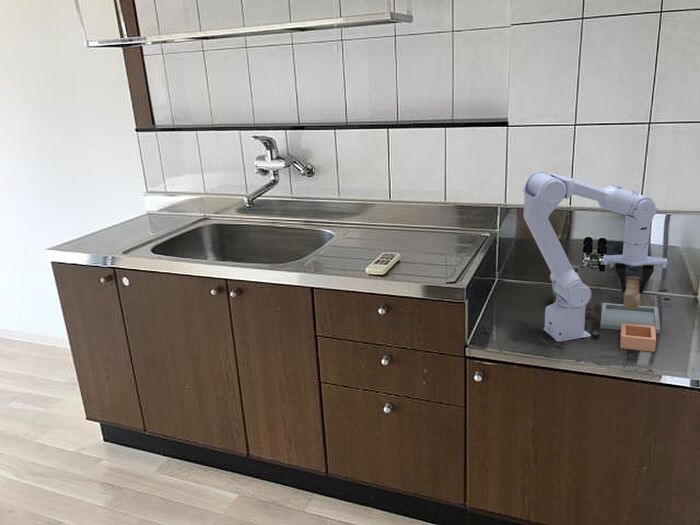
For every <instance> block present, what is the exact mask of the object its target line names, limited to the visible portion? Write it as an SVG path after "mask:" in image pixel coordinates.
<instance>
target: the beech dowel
mask: <svg viewBox="0 0 700 525" xmlns="http://www.w3.org/2000/svg"><path fill="white" fill-rule="evenodd" d="M641 278H642V277H639V276H635V275H631V276H625V292H623V304H624V306H623V307H624V308H625V309H629V310H636V309H638V308H639V306H640V295H641V293H640V285H641Z"/></svg>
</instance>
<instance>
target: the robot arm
mask: <svg viewBox="0 0 700 525" xmlns="http://www.w3.org/2000/svg"><path fill="white" fill-rule="evenodd" d="M622 187H623V186H622V185H619V184H616V183H615V184H614V185H606V186H605V187H602V188H601V187H599V186H596V185H592V184H589V183H586V182H583V181H581V180H578V179H576V178H572V177H568V176H564V175H560V174H556V173H549V174H548V173H546V172H544V171H535V172H533V173H532V174H531V175H530V176H528V178H527V180H526V181H525V184H524V187H523V188H522V190H523V195H524V201H523V202H524V203H523V218H524V219H523V220H524V221H525V223H526V226H527V227H528V229H529V231H530V233H531V235H532V237H533V239H534V241H535V243H536V245H537V247H538V249H539V251H540V253H541V255H542V257H543V259H544V261H545V263H546V264H547V267H548V268H549V271H550V275H549V277H550V276H551V278H552V281H551V284H552V291H553V290H554V292H555V293H557V295H556V302H555V303H551V304H549V305H547V306H546V307H545V310H544V327H543V330H544V331H545V332H546V333H547V334H548V335H549V336H551V338H553V339H554V340H555V341H556V342H563V341H565V342H566V341H570V340H577V339H581V338H587V337H591V336H592V335H591V334H590V332H588V331H586V330H585V320H586V306H587V304H588V303H589V302H590V301H591V298H592V291H591V288H590V287H589V286H588V285H586V284H585V283H584V282H583V281H582V279H581V278H580V275H579V276H578V275H577V274H576V272H575V271H574V270H573V268H572V266H571V265H572V264H571V262H570V260H569V258H568V256H567V254H566V252H565V250H564V248H563V246H562V244H561V242H560V239H559V238H558V236H557V233H556V232H555V230H554V228H553V226H552V224H551V222H550V220H549V217H550V216H551V214H552V213H553V212H554V211H555V209H556V208H557V207H558V206H559V204H560V203H561V202H562V201H563V200H564V199H566V200H569V199H570V198H571V197H572V196H578V197H581V198H585V199H589V200H593V201H595V202H597V203H598V206H599V207H600V208H602V209H604V210H607V211H611V212H614V213H618V214H621V215H625V217H624V218H625V219H624V220H625V221H624V231H623V243H622V244H623V245H622V246H623V247H622V248H623V249H622V254H613V255H610V254H608V255H603V265H605V266H607V265H614V267H615V268H614V269H615V273H616V274H617V276H618V279H619V282H620V287H621V293H624V292H625V279H626V270H627V269H626V268H627V267H626V266H630V267H633V266H634V267H642V268H641V277H640V278H641V285H640V294H644V289H645V287H646V284H647V283H648V280H649V279H650V277H651V276H652V275H653V273H654V272H655V268H654V267H657V268H662V269H667V267H668V265H667V264H668V258H666V257H665V258H664V257H657V256H649V255H648V254H649V243H650V231H651V225H652V220H653V219H654V217H655V215H656V214H657V212H658V207H656V202H655V201H654V199H652V198H650V197H648V196H645V195H642V194H640V193H639V192H638V191H636V190H631V191H630V190H626V189H624V188H622ZM551 273H552V274H551Z"/></svg>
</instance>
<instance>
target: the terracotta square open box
mask: <svg viewBox="0 0 700 525" xmlns="http://www.w3.org/2000/svg"><path fill="white" fill-rule="evenodd" d="M656 346H657V334H656V332H655V326H647V325H636V324H626V323H622V324H621V330H620V346H619V347H620V349H625V350H634V351H643V352H650V353H651V352H653V353H655V352H656Z"/></svg>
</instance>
